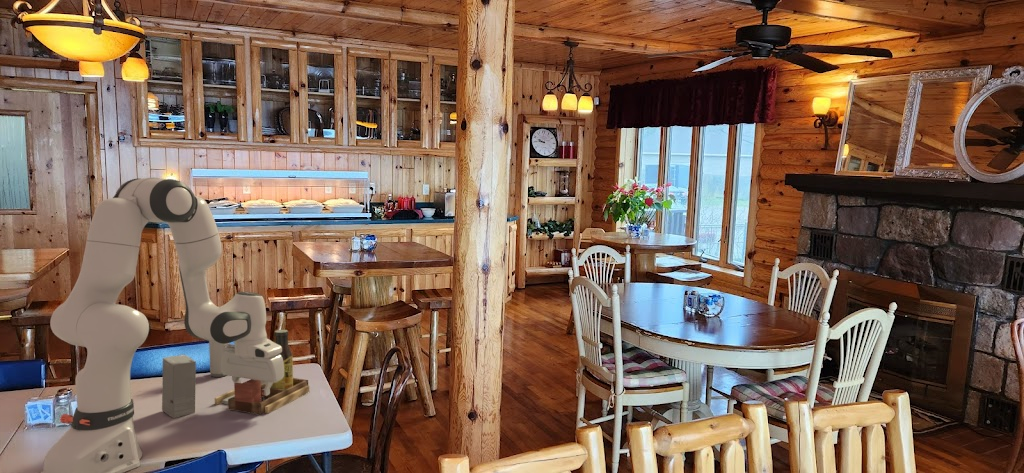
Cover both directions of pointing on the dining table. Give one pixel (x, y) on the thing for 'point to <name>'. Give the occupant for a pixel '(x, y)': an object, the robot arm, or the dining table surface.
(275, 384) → the sauce bottle
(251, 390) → the wooden condiment caddy
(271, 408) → the oak lane rails
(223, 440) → the dining table surface
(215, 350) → the travel mug
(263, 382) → the broken grey strip
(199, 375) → the dining table surface
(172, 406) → the skincare box
